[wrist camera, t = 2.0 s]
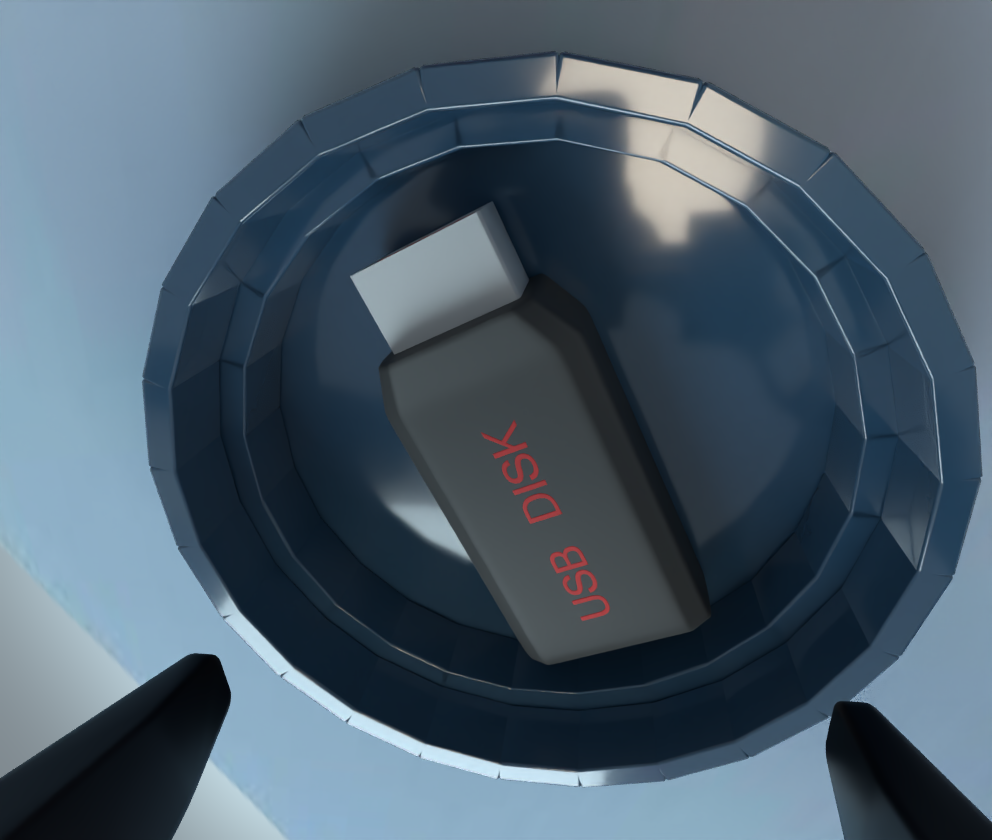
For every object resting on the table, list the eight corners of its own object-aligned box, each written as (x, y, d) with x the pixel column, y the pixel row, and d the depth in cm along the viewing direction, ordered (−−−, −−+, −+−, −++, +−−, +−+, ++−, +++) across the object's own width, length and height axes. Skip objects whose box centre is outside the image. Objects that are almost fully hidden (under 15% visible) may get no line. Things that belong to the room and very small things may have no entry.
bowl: (832, 684, 19) (886, 819, 16) (308, 649, 23) (249, 755, 19) (964, 29, 12) (1124, -10, 8) (164, 110, 15) (19, 107, 11)
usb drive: (542, 621, 20) (533, 692, 17) (347, 275, 16) (299, 303, 14) (706, 578, 18) (721, 650, 16) (531, 180, 14) (516, 192, 12)
